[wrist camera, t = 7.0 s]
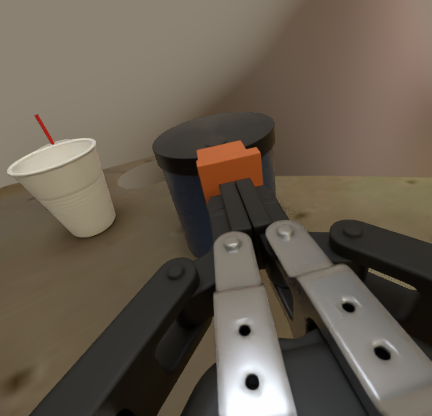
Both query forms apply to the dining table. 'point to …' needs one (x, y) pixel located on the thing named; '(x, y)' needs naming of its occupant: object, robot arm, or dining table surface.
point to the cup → (69, 185)
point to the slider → (227, 166)
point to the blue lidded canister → (188, 173)
